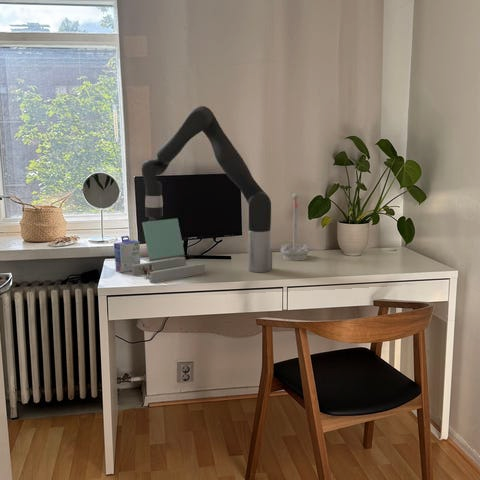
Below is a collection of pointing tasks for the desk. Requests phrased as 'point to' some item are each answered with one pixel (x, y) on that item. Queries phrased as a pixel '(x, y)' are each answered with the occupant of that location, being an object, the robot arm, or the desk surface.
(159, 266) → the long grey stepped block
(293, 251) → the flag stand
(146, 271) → the eagle figurine
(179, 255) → the cover
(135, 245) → the ink cartridge box
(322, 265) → the desk surface
